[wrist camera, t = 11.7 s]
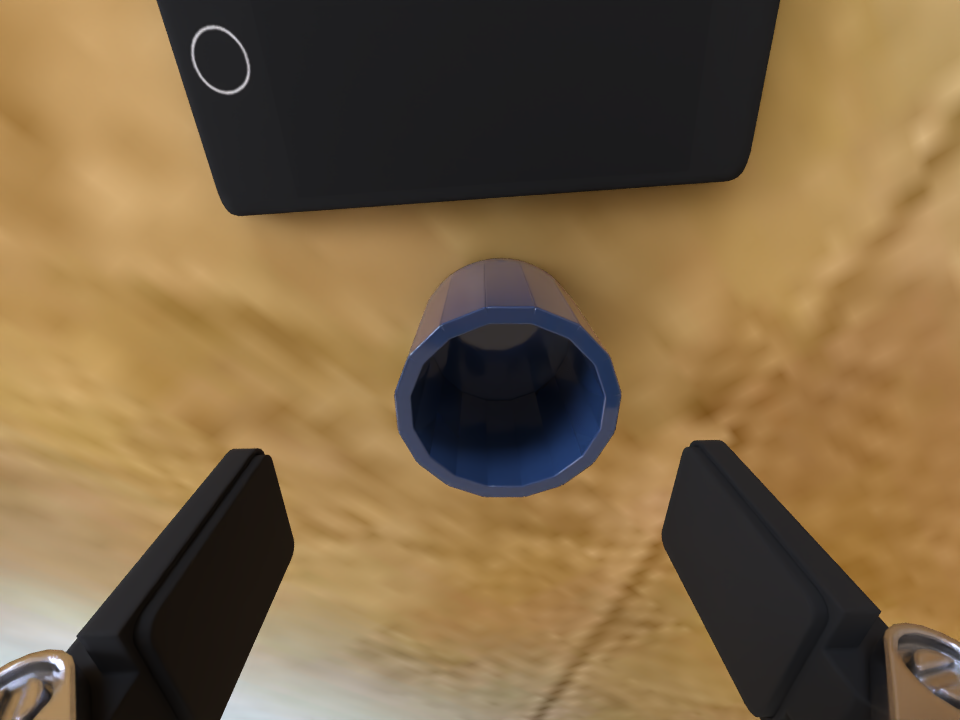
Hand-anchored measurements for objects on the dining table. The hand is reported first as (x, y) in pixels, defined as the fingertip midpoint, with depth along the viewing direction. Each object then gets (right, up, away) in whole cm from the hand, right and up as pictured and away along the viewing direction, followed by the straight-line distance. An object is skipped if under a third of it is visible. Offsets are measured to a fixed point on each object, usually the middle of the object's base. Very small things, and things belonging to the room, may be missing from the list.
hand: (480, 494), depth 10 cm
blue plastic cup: (+1, +4, +8) cm, 9 cm away
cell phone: (0, +13, +4) cm, 14 cm away
